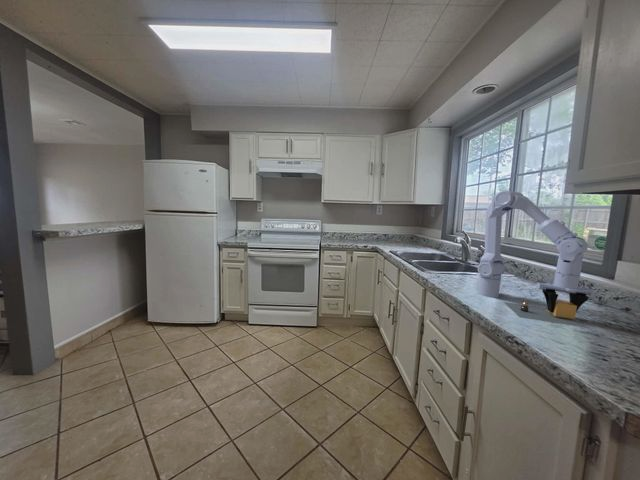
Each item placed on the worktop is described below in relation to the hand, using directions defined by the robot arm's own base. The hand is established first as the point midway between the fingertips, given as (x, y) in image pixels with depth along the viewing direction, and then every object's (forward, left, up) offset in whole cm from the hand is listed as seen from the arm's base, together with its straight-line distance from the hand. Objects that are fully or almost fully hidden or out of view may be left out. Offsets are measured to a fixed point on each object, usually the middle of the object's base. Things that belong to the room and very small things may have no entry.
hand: (560, 312), depth 82 cm
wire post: (0, -10, -1) cm, 10 cm away
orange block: (0, 0, -1) cm, 1 cm away
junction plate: (0, -5, -2) cm, 6 cm away
